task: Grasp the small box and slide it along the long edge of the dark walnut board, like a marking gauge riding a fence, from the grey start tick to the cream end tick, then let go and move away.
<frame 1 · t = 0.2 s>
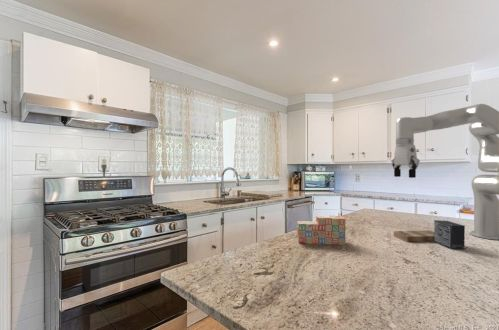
hand: (404, 177, 124), 31 cm above the countertop, tool pointing down, fingers open, 9 cm apart
small box: (448, 246, 114), on the countertop
stack of blocks: (320, 242, 119), on the countertop
walnut board: (419, 238, 124), on the countertop
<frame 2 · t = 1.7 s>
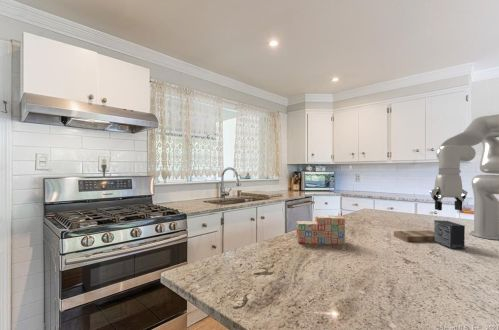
hand: (448, 210, 114), 16 cm above the countertop, tool pointing down, fingers open, 9 cm apart
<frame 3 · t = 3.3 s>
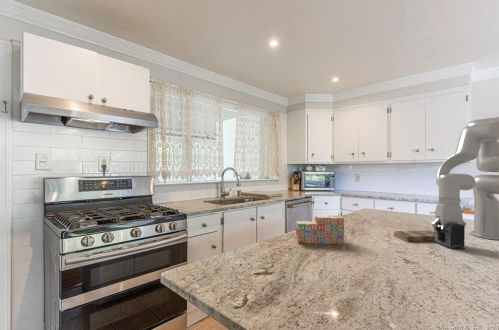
hand: (448, 240, 114), 2 cm above the countertop, tool pointing down, fingers closed on small box, 6 cm apart
small box: (448, 245, 114), on the countertop, touching gripper
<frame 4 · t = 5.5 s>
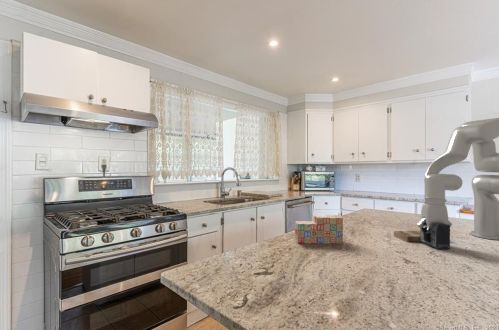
hand: (434, 241, 113), 2 cm above the countertop, tool pointing down, fingers closed on small box, 6 cm apart
small box: (434, 245, 113), on the countertop, touching gripper
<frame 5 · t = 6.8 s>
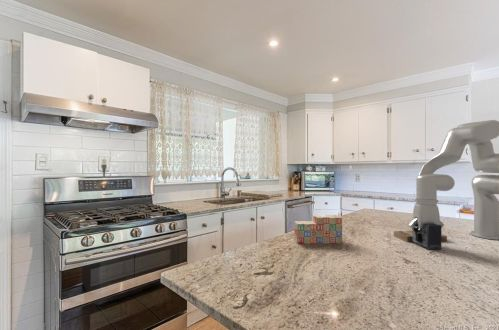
hand: (426, 241, 113), 2 cm above the countertop, tool pointing down, fingers closed on small box, 6 cm apart
small box: (426, 246, 113), on the countertop, touching gripper
when the fingers open (2 cm above the countertop, at t = 7.8 s): small box stays where it is, on the countertop.
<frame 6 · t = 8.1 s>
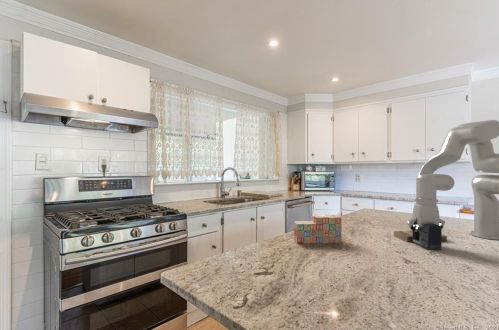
hand: (426, 239, 113), 3 cm above the countertop, tool pointing down, fingers open, 9 cm apart
small box: (426, 246, 113), on the countertop
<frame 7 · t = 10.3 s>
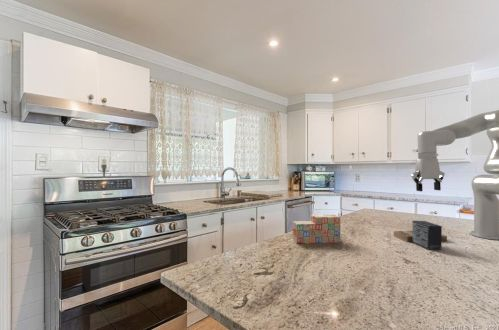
hand: (428, 190, 124), 24 cm above the countertop, tool pointing down, fingers open, 9 cm apart
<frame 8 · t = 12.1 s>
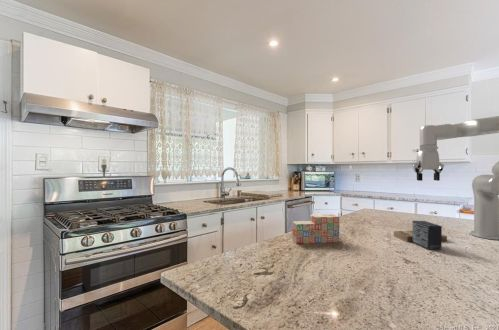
hand: (428, 180, 134), 28 cm above the countertop, tool pointing down, fingers open, 9 cm apart
at the end: small box 0.5 cm from the target spot, on the countertop; small box tilted 0°; the gripper is holding nothing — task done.
